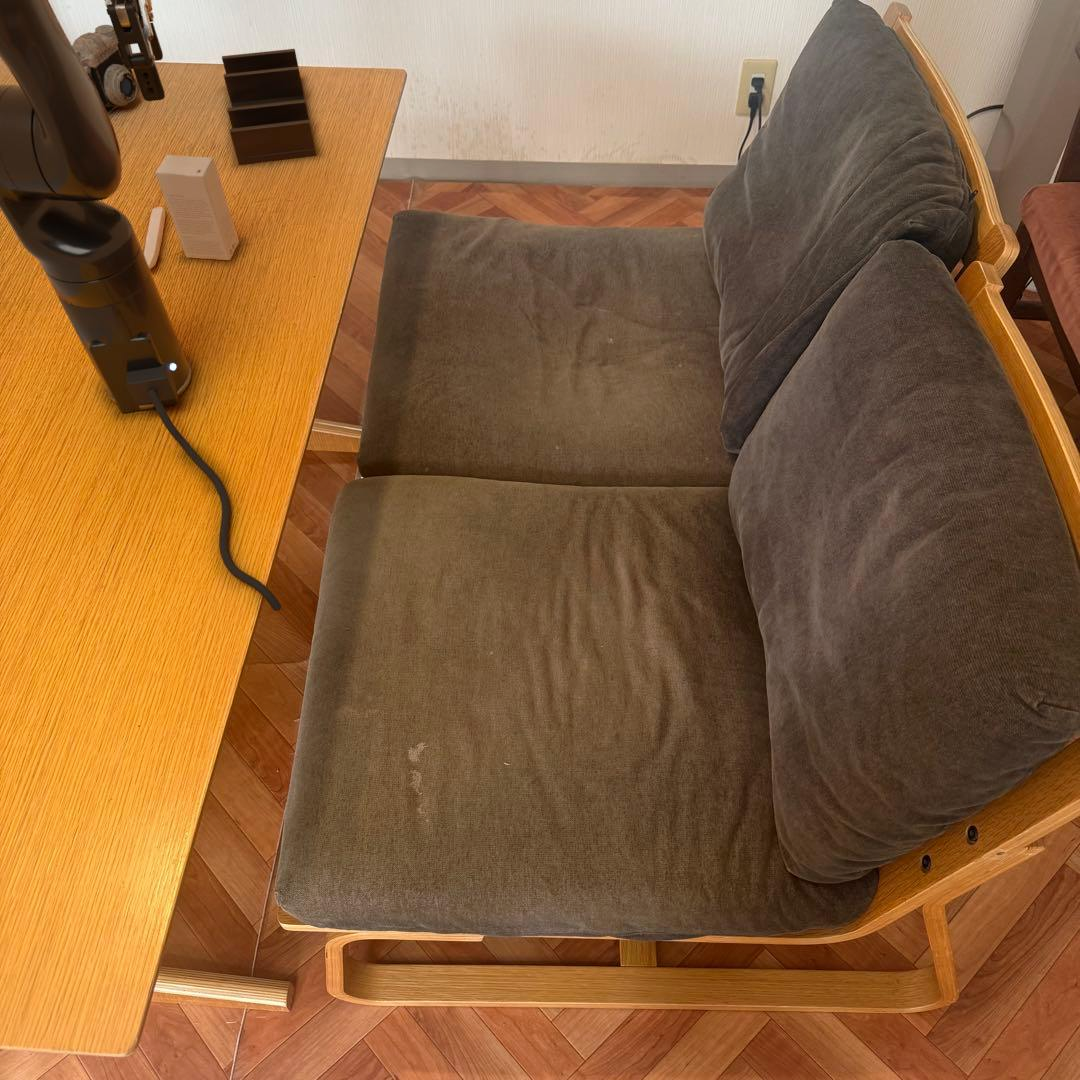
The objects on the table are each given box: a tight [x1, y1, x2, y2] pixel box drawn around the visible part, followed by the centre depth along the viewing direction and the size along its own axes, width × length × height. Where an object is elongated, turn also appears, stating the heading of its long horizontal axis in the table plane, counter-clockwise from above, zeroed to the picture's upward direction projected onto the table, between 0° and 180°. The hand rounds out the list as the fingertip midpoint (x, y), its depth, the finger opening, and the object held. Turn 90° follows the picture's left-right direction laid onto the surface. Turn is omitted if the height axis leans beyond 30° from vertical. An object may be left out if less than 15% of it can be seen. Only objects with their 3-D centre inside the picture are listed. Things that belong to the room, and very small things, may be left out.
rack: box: [221, 48, 317, 166], centre depth 133 cm, size 22×11×5 cm, turn 15°
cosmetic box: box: [154, 154, 240, 261], centre depth 111 cm, size 6×4×12 cm
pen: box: [143, 206, 166, 270], centre depth 116 cm, size 2×14×2 cm, turn 8°
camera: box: [71, 24, 139, 115], centre depth 132 cm, size 15×7×10 cm, turn 162°
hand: (154, 78), depth 98 cm, fingers open, 8 cm apart
